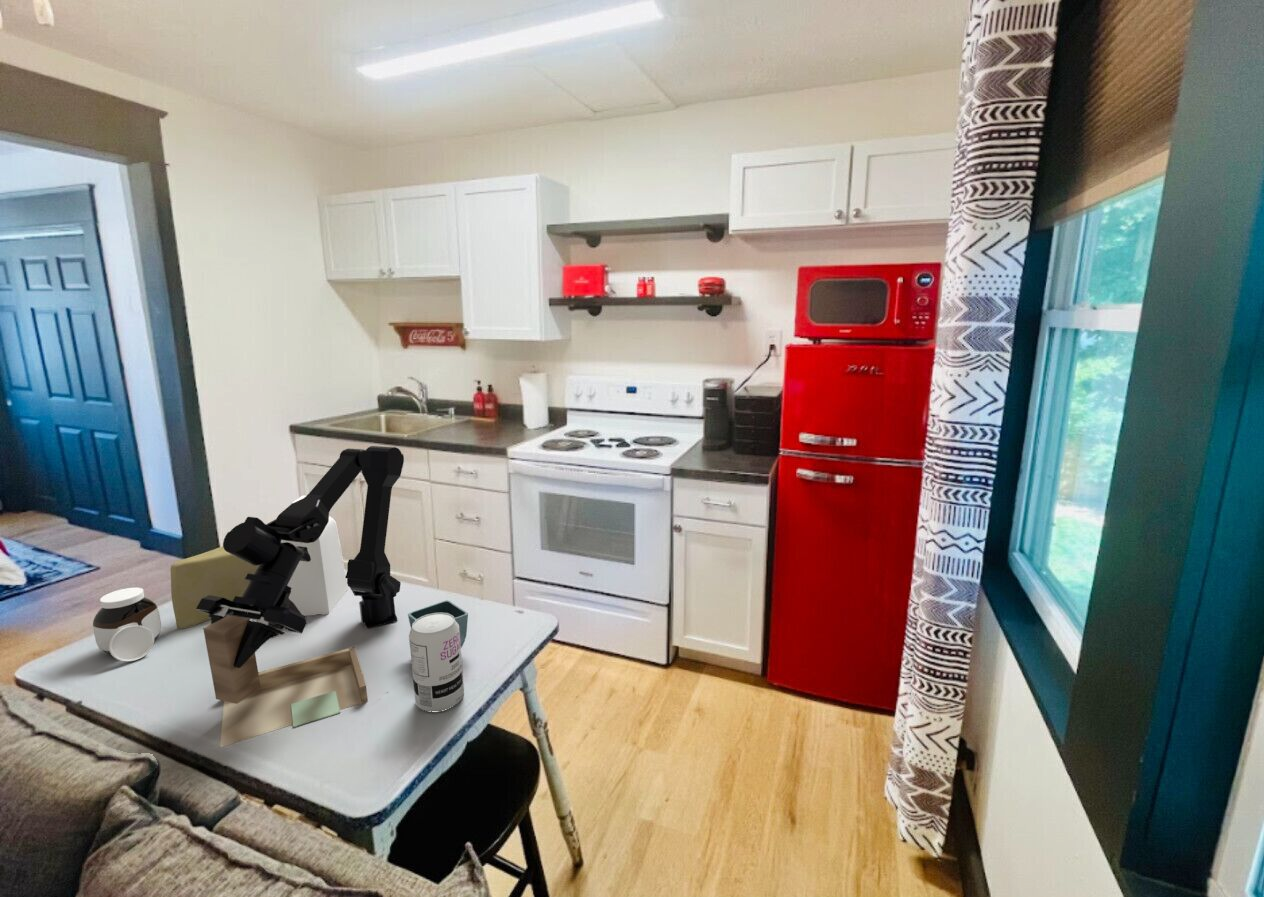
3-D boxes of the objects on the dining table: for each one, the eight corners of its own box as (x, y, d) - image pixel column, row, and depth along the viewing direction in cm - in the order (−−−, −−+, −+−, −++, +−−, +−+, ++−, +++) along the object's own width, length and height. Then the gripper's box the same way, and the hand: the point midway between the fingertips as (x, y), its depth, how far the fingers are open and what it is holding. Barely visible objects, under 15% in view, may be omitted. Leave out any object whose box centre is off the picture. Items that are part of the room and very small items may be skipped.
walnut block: (240, 683, 103) (228, 615, 100) (260, 687, 102) (249, 618, 99) (216, 699, 99) (203, 628, 96) (236, 703, 97) (224, 632, 95)
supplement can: (422, 687, 108) (415, 612, 105) (468, 684, 109) (462, 609, 106) (410, 716, 100) (401, 635, 97) (459, 713, 101) (453, 633, 98)
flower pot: (450, 637, 125) (447, 598, 123) (472, 654, 119) (469, 613, 117) (410, 654, 119) (406, 613, 117) (430, 672, 113) (427, 629, 111)
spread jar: (141, 632, 129) (131, 582, 126) (184, 637, 126) (175, 587, 124) (81, 663, 117) (68, 609, 115) (127, 669, 115) (115, 614, 112)
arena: (356, 662, 116) (354, 646, 116) (369, 705, 103) (366, 688, 102) (224, 699, 105) (221, 682, 105) (220, 753, 92) (216, 734, 91)
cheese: (189, 635, 127) (177, 570, 124) (167, 624, 132) (155, 561, 129) (290, 594, 146) (282, 537, 143) (268, 586, 151) (260, 530, 148)
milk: (299, 593, 146) (285, 492, 141) (348, 591, 148) (336, 490, 142) (276, 617, 135) (260, 508, 129) (329, 614, 136) (315, 505, 130)
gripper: (343, 597, 109) (302, 684, 102) (264, 585, 115) (220, 667, 107) (303, 575, 100) (255, 669, 92) (219, 563, 106) (167, 651, 98)
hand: (225, 665), depth 98 cm, fingers closed on walnut block, 4 cm apart
